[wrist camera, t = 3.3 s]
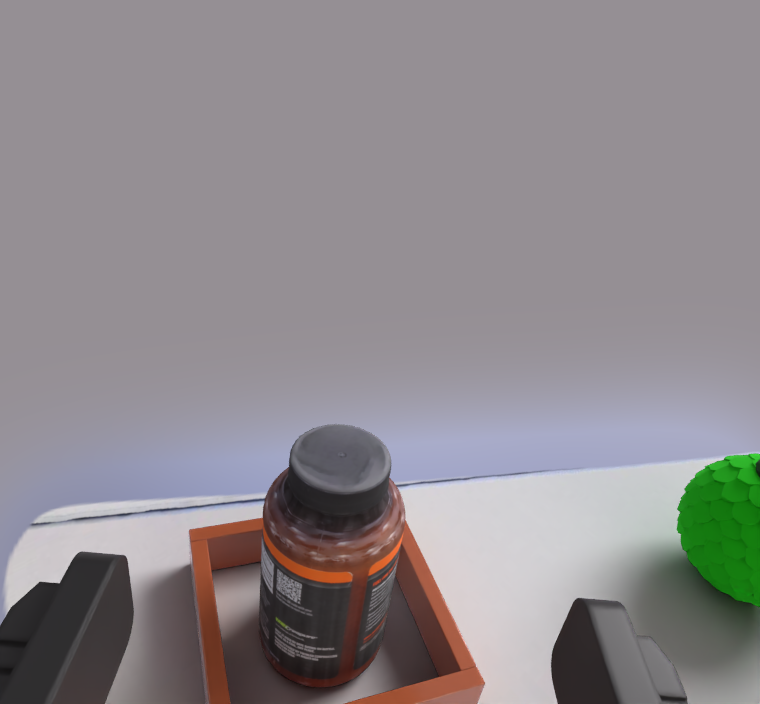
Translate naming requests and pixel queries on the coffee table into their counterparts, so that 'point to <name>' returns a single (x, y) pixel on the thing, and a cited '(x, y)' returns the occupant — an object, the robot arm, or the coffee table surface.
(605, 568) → the coffee table surface
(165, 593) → the coffee table surface
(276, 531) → the supplement bottle
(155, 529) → the coffee table surface
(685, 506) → the ornament
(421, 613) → the reddish-brown square frame
